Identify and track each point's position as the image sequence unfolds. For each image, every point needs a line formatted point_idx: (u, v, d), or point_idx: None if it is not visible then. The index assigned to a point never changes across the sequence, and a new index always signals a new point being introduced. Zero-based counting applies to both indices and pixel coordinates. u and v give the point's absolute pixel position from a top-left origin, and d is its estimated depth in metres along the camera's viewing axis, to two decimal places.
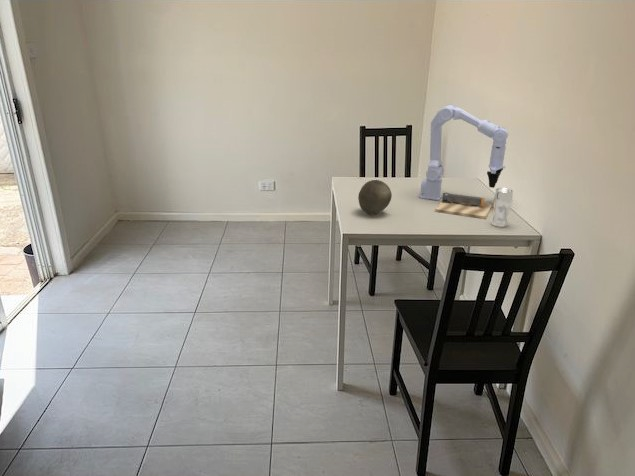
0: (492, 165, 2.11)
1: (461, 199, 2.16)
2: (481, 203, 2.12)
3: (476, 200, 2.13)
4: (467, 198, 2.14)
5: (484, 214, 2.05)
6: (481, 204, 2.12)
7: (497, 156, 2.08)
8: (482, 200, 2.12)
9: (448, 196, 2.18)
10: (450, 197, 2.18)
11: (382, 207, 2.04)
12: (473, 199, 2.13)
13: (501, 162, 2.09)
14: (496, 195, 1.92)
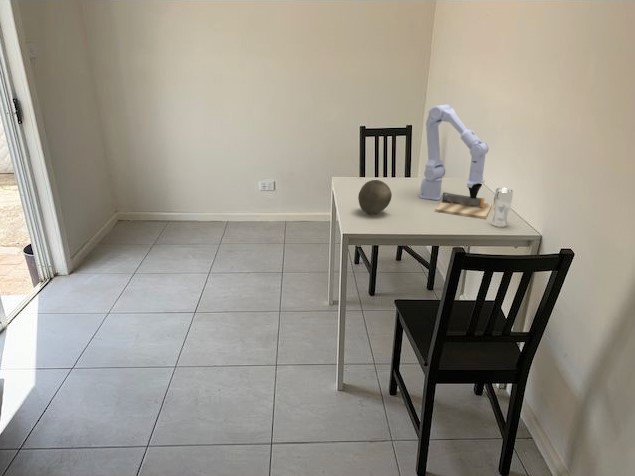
0: (470, 179, 2.11)
1: (461, 199, 2.15)
2: (481, 203, 2.12)
3: (476, 200, 2.12)
4: (467, 198, 2.14)
5: (484, 214, 2.05)
6: (481, 204, 2.12)
7: (474, 170, 2.09)
8: (482, 200, 2.11)
9: (448, 196, 2.18)
10: (450, 197, 2.18)
11: (382, 207, 2.04)
12: (473, 199, 2.13)
13: (479, 176, 2.09)
14: (496, 195, 1.92)
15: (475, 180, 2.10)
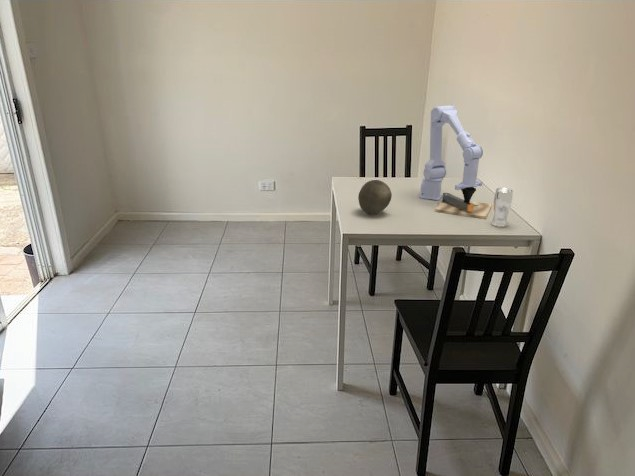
0: (462, 182, 2.07)
1: (454, 201, 2.13)
2: (467, 208, 2.06)
3: (464, 204, 2.08)
4: (458, 201, 2.11)
5: (484, 214, 2.05)
6: (467, 209, 2.06)
7: (466, 173, 2.04)
8: (468, 205, 2.05)
9: (445, 196, 2.18)
10: (447, 197, 2.17)
11: (382, 207, 2.04)
12: (462, 203, 2.09)
13: (470, 180, 2.04)
14: (496, 195, 1.92)
15: (466, 183, 2.05)
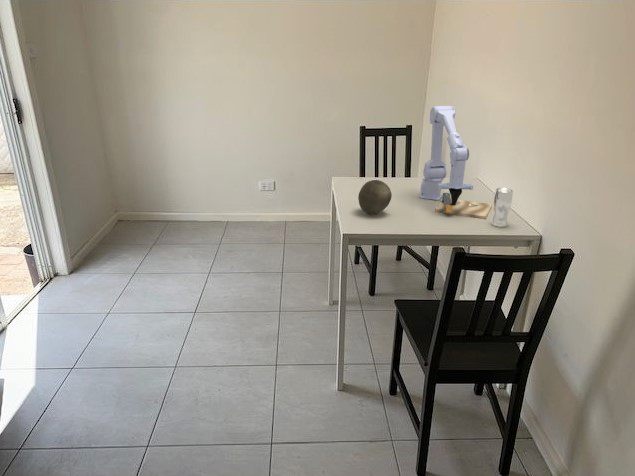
0: None
1: (444, 201, 2.13)
2: (446, 209, 2.06)
3: (445, 205, 2.07)
4: (445, 201, 2.11)
5: (484, 214, 2.05)
6: None
7: (451, 174, 2.02)
8: (446, 206, 2.05)
9: (443, 196, 2.19)
10: (443, 197, 2.18)
11: (382, 207, 2.04)
12: (445, 203, 2.08)
13: (453, 181, 2.02)
14: (496, 195, 1.92)
15: (450, 184, 2.04)
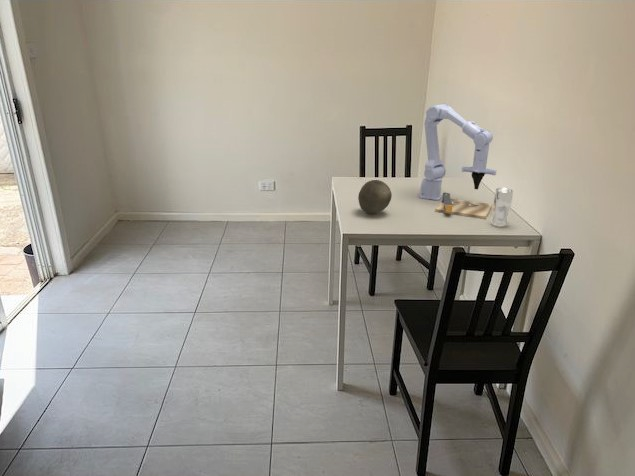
0: None
1: (444, 201, 2.13)
2: (445, 209, 2.06)
3: (445, 205, 2.07)
4: (445, 201, 2.11)
5: (484, 214, 2.05)
6: (445, 210, 2.06)
7: (477, 159, 2.05)
8: (446, 206, 2.05)
9: (443, 196, 2.19)
10: (443, 197, 2.18)
11: (382, 207, 2.04)
12: (445, 203, 2.08)
13: (475, 165, 2.07)
14: (496, 195, 1.92)
15: (472, 167, 2.09)
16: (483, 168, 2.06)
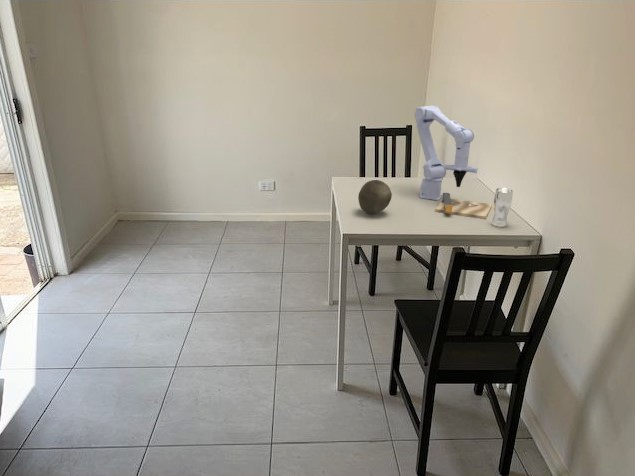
0: None
1: (444, 201, 2.13)
2: (445, 209, 2.06)
3: (445, 205, 2.07)
4: (445, 201, 2.11)
5: (484, 214, 2.05)
6: (445, 210, 2.06)
7: (458, 157, 2.08)
8: (446, 206, 2.05)
9: (443, 196, 2.19)
10: (443, 197, 2.18)
11: (382, 207, 2.04)
12: (445, 203, 2.08)
13: (456, 163, 2.10)
14: (496, 195, 1.92)
15: (454, 165, 2.12)
16: (464, 166, 2.09)
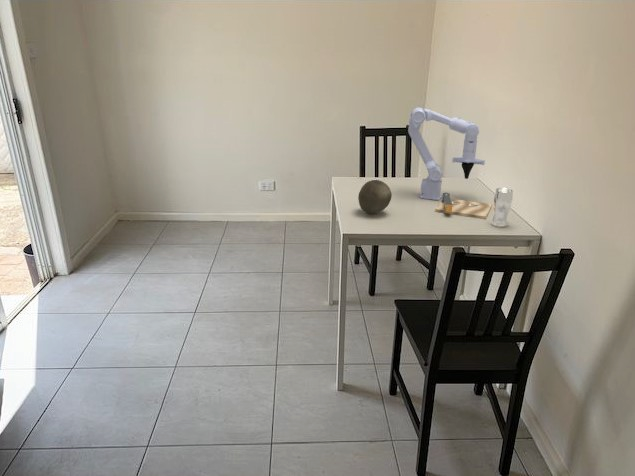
0: None
1: (444, 201, 2.13)
2: (445, 209, 2.06)
3: (445, 205, 2.07)
4: (445, 201, 2.11)
5: (484, 214, 2.05)
6: (445, 210, 2.06)
7: (471, 150, 2.17)
8: (446, 206, 2.05)
9: (443, 196, 2.19)
10: (443, 197, 2.18)
11: (382, 207, 2.04)
12: (445, 203, 2.08)
13: (464, 155, 2.19)
14: (496, 195, 1.92)
15: (462, 158, 2.21)
16: (472, 158, 2.18)
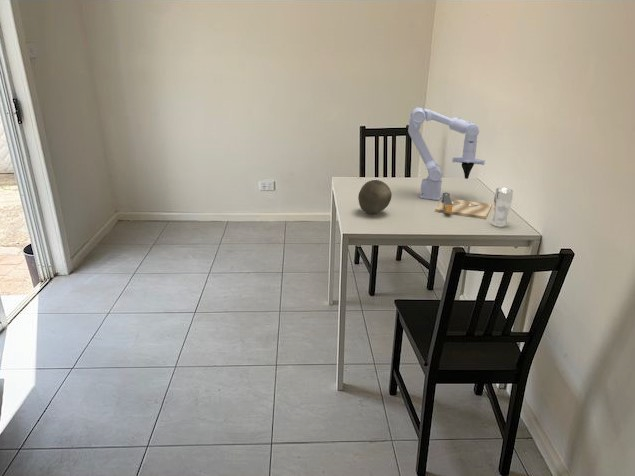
0: None
1: (444, 201, 2.13)
2: (445, 209, 2.06)
3: (445, 205, 2.07)
4: (445, 201, 2.11)
5: (484, 214, 2.05)
6: (445, 210, 2.06)
7: (471, 150, 2.17)
8: (446, 206, 2.05)
9: (443, 196, 2.19)
10: (443, 197, 2.18)
11: (382, 207, 2.04)
12: (445, 203, 2.08)
13: (464, 155, 2.19)
14: (496, 195, 1.92)
15: (462, 158, 2.21)
16: (472, 158, 2.18)
